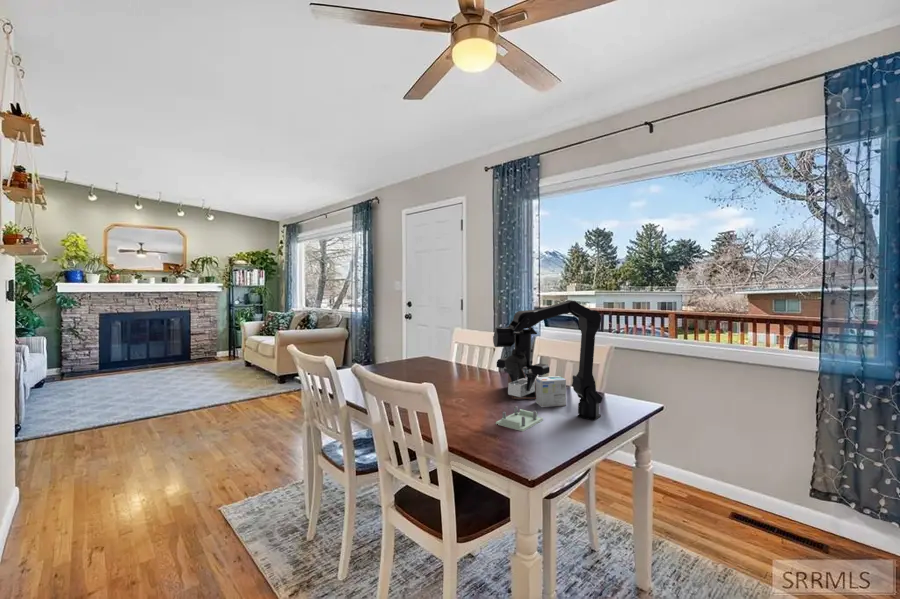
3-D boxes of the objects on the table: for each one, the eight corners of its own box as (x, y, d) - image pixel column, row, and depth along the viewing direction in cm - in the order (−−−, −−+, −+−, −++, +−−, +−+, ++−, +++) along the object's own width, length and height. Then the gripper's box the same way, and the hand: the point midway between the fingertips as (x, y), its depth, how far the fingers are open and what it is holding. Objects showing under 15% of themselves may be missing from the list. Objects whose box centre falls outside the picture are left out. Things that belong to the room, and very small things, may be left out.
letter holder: (512, 400, 177) (512, 367, 176) (507, 387, 197) (507, 357, 196) (536, 400, 177) (536, 367, 176) (529, 387, 196) (529, 357, 195)
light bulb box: (559, 400, 175) (559, 375, 174) (566, 405, 168) (566, 379, 167) (535, 402, 173) (535, 376, 172) (541, 407, 166) (541, 380, 165)
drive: (534, 391, 152) (535, 380, 152) (520, 397, 144) (520, 385, 144) (522, 388, 155) (523, 377, 155) (508, 394, 148) (508, 382, 148)
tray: (542, 420, 152) (542, 409, 151) (522, 431, 141) (522, 420, 141) (516, 413, 159) (516, 404, 159) (495, 424, 148) (495, 413, 148)
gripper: (488, 346, 149) (487, 389, 150) (534, 353, 137) (533, 400, 138) (505, 342, 157) (504, 383, 158) (550, 348, 145) (549, 393, 146)
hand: (521, 389), depth 150 cm, fingers closed on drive, 5 cm apart
